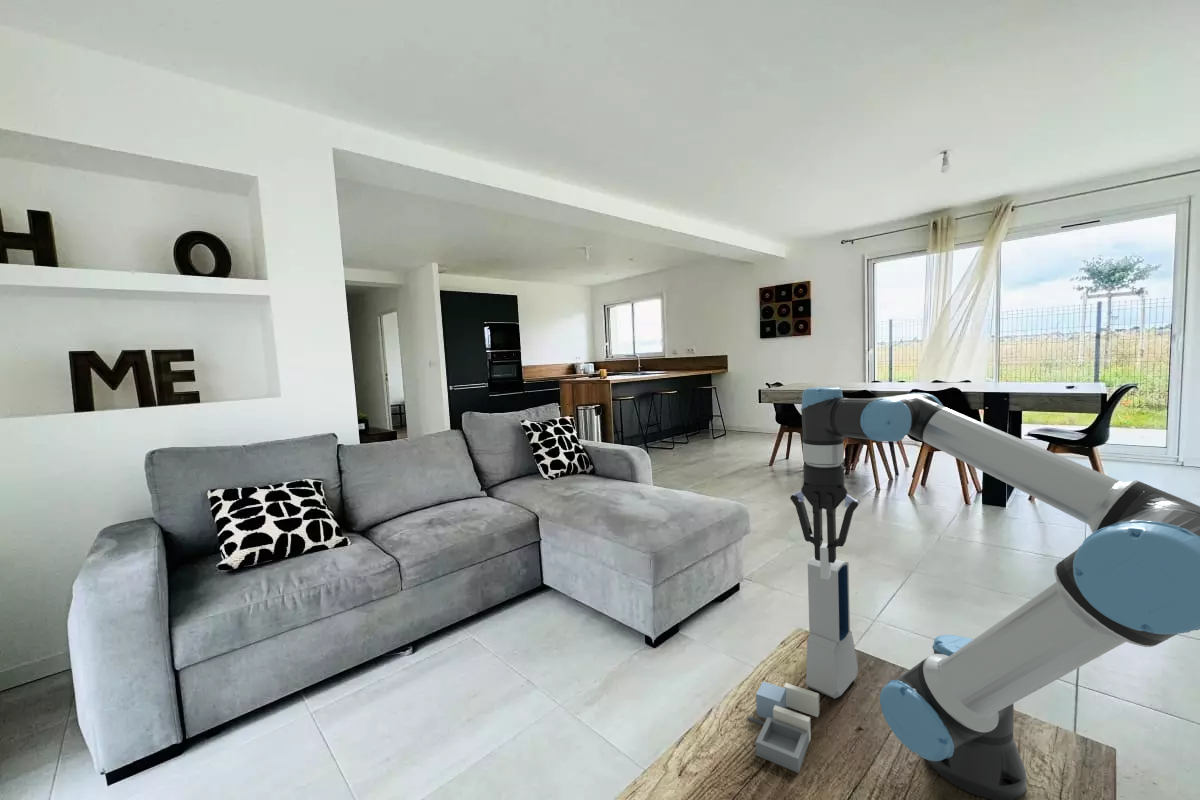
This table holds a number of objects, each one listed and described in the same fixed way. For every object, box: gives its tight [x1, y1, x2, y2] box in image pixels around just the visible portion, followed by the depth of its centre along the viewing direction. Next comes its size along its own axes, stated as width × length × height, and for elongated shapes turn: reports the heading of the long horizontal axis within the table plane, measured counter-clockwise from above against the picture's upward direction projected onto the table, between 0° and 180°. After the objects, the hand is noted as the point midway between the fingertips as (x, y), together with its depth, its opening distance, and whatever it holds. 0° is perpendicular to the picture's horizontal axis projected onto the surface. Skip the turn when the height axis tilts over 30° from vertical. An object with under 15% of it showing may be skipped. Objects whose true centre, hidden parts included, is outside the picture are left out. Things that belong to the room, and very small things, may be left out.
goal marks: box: [747, 715, 765, 726], centre depth 108 cm, size 5×10×1 cm, turn 145°
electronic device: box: [805, 555, 859, 699], centre depth 114 cm, size 12×8×30 cm, turn 133°
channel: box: [773, 682, 820, 744], centre depth 104 cm, size 7×10×4 cm
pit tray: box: [755, 717, 810, 774], centre depth 96 cm, size 8×8×3 cm
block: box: [755, 681, 787, 720], centre depth 107 cm, size 5×5×5 cm
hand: (825, 576), depth 100 cm, fingers closed
